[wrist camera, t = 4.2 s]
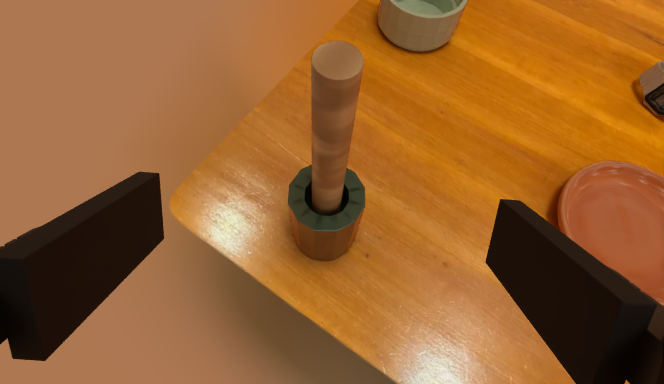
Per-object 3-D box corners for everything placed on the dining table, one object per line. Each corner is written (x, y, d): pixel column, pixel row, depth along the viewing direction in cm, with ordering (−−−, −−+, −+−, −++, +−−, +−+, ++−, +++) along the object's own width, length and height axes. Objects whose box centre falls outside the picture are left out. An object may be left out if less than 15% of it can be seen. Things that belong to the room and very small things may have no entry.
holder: (281, 240, 40) (273, 205, 32) (314, 192, 43) (315, 150, 35) (334, 272, 39) (340, 245, 31) (365, 222, 42) (378, 184, 33)
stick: (307, 232, 40) (301, 64, 18) (320, 213, 41) (329, 33, 19) (328, 245, 40) (347, 87, 18) (340, 225, 41) (373, 54, 19)
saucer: (723, 300, 40) (753, 294, 37) (581, 319, 38) (602, 315, 35) (648, 167, 46) (669, 154, 44) (526, 179, 45) (539, 166, 42)
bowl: (362, 32, 54) (368, -5, 49) (398, -10, 59) (406, -50, 53) (433, 66, 52) (447, 30, 47) (465, 18, 56) (481, -19, 51)
